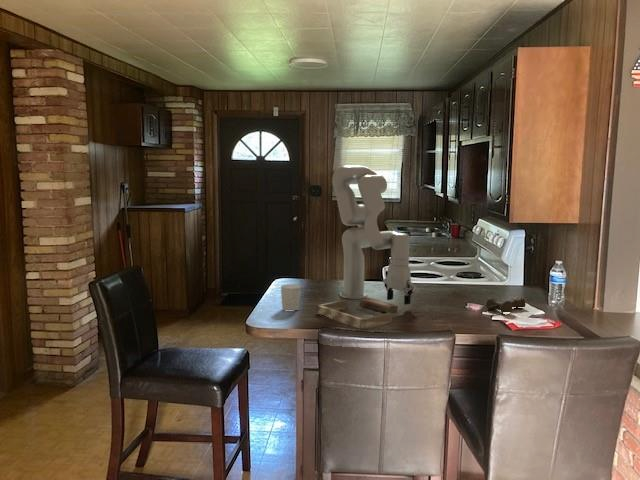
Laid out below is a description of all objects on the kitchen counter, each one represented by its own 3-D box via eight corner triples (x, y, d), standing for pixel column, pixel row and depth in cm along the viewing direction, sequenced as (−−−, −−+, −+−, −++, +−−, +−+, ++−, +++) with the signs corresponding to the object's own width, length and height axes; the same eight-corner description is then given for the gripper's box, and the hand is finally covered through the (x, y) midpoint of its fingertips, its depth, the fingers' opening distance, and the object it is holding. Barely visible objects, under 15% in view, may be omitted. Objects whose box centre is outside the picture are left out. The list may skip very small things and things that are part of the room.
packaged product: (355, 299, 219) (372, 295, 225) (355, 310, 220) (372, 306, 226) (387, 308, 205) (404, 304, 212) (387, 320, 206) (403, 315, 212)
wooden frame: (316, 313, 212) (316, 305, 212) (344, 307, 222) (344, 299, 221) (363, 329, 192) (363, 320, 191) (391, 322, 201) (392, 313, 201)
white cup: (302, 308, 220) (302, 285, 219) (295, 313, 213) (295, 289, 212) (285, 306, 223) (285, 283, 222) (278, 311, 216) (277, 287, 214)
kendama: (530, 312, 220) (496, 317, 210) (512, 307, 228) (478, 312, 218) (531, 298, 219) (497, 302, 209) (512, 294, 227) (479, 297, 218)
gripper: (378, 260, 225) (377, 299, 227) (409, 266, 212) (408, 307, 214) (390, 258, 230) (389, 296, 232) (421, 264, 217) (420, 304, 219)
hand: (398, 301), depth 223 cm, fingers open, 9 cm apart
